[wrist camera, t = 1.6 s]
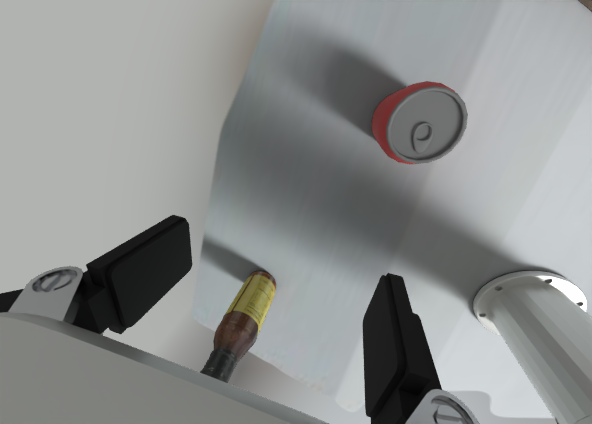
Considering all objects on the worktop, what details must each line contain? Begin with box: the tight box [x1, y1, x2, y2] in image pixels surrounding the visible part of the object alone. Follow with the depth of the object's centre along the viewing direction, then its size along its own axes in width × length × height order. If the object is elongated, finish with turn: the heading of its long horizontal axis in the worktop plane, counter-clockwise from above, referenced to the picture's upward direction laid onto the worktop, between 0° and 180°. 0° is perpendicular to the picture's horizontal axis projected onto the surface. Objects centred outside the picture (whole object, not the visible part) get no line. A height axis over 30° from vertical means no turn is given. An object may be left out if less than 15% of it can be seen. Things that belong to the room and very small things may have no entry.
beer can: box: [372, 81, 468, 164], centre depth 22 cm, size 7×7×12 cm
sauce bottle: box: [200, 271, 276, 383], centre depth 36 cm, size 7×6×20 cm
